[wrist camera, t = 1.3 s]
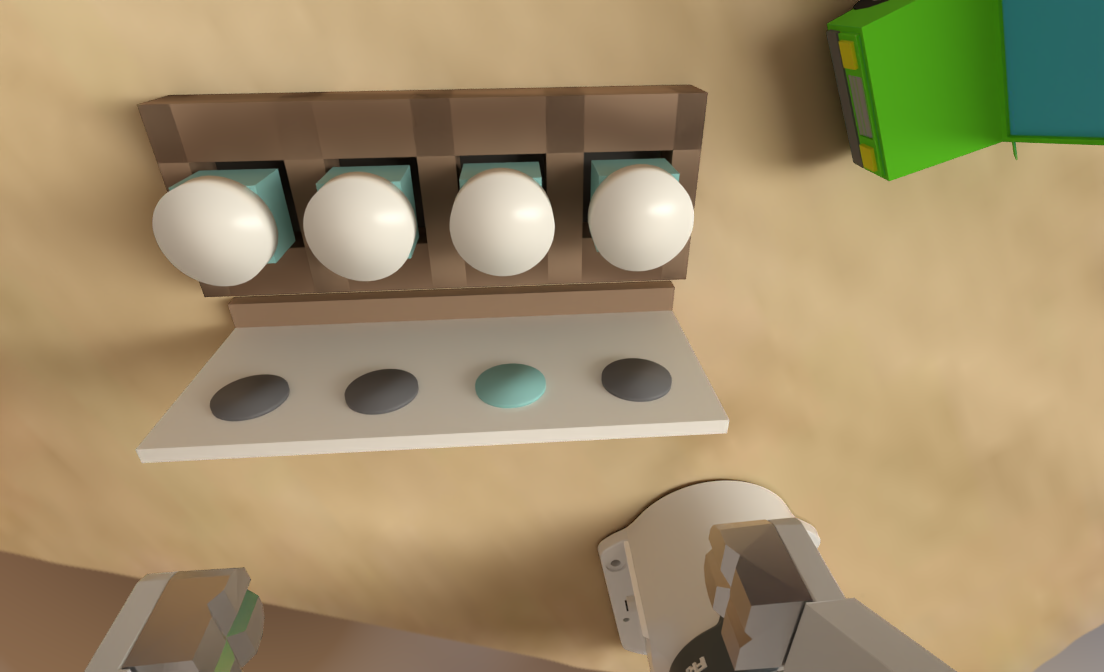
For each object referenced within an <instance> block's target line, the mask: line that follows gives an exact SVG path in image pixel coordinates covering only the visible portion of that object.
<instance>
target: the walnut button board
mask: <svg viewBox="0 0 1104 672" xmlns="http://www.w3.org/2000/svg"><path fill="white" fill-rule="evenodd" d="M707 95H708V93H707V92H705V91H703V90H701V89H699V88H697V87H695V86H693V85H656V86H605V87H555V88H505V89H455V90H404V91H354V92H304V93H254V94H203V95H168V96H165V97H161V98H158V99H155V100H151V101H148V102H144V103H141V104H137V106H138V109H139V112H140V115H141V118H142V120H143V123H144V126H145V129H146V132H147V135H148V138H149V140H150V143H151V146H152V149H153V152H154V155H155V157H156V160H157V163H158V166H159V169H160V172H161V175H162V177H163V180H164V183H165V186H166V189H167V192H169V187H171V186H173V185H174V184H176V183H178V182H180V181H182V180H183V179H185V178H187V177H189V176H190V175H192V174H194V173H196V172H198V171H203V170H241V169H278V172H279V176H280V180H281V184H282V188H283V192H284V196H285V200H286V204H287V208H288V212H289V216H290V220H291V224H292V228H293V232H294V236H295V240H296V241H295V242H294V243H293V244H292V245H291V247H290V248H289V249H288V250H287V251H286V252H285V253H284V255H283V256H282V257H281V258H280V259H279V260H278V262H277V263H267V264H266V265H265V266H264V267H263V269H262V270H261V271H260V272H259V273H258V274H257V275H256V276H255V277H253V278H252V279H251V280H249V281H247V282H245V283H242V284H239V285H235V286H215V285H210V284H206V283H203V282H200V281H199V283H200V286H201V288H202V291H203V294H204V297H221V296H248V295H275V294H302V293H329V292H356V291H382V290H409V289H436V288H463V287H490V286H517V285H544V284H570V283H597V282H624V281H651V280H678V279H686V274H687V265H688V257H689V248H690V240H691V235H690V237H689V239H688V241H687V243H686V245H685V246H684V248H683V249H682V250H681V251H680V252H679V253H678V254H677V255H676V256H675V257H674V258H673V259H672V260H670V261H669V262H667V263H666V264H664V265H662V266H660V267H657V268H655V269H651V270H647V271H628V270H624V269H621V268H618V267H616V266H614V265H612V264H611V263H609V262H608V261H607V260H606V259H605V258H604V257H603V256H602V255H601V254H600V252H597V251H596V248H595V245H594V242H593V239H592V236H591V233H590V229H589V224H588V209H589V204H590V197H591V160H620V159H658V158H665V159H666V160H667V161H668V162H669V163H670V164H671V165H672V166H673V167H674V168H675V169H676V170H677V171H678V172H679V174H680V175H679V183H680V184H681V185H682V186H683V188H684V189H685V190H686V191H687V193H688V195H689V197H690V199H691V202H692V205H693V209H694V206H695V197H696V189H697V180H698V172H699V163H700V155H701V146H702V138H703V129H704V121H705V112H706V104H707ZM506 162H539V166H540V172H541V177H542V188H543V189H544V191H545V192H546V194H547V196H548V198H549V200H550V203H551V207H552V212H553V217H554V224H555V230H554V237H553V241H552V244H551V246H550V248H549V250H548V252H547V254H546V255H545V257H544V258H543V259H542V260H541V261H540V262H539V263H538V264H537V265H535V266H534V267H532V268H531V269H529V270H527V271H525V272H523V273H520V274H517V275H512V276H495V275H490V274H486V273H483V272H481V271H479V270H477V269H475V268H473V267H472V266H471V265H469V264H468V263H467V262H466V261H465V260H464V259H463V258H462V257H461V256H460V255H459V253H458V252H457V250H456V248H455V246H454V244H453V242H452V238H451V234H450V216H451V212H452V208H453V204H454V201H455V198H456V196H457V194H458V192H459V190H460V183H459V179H460V175H461V171H462V168H463V164H468V163H506ZM393 165H410V171H411V179H412V186H413V194H414V201H415V209H416V216H417V224H418V231H419V239H418V241H417V244H416V247H415V249H414V252H413V255H412V257H411V259H407V260H406V262H405V263H404V264H403V265H402V267H401V268H399V269H398V270H397V271H396V272H395V273H393V274H392V275H390V276H388V277H385V278H383V279H379V280H375V281H357V280H352V279H348V278H345V277H342V276H340V275H338V274H336V273H334V272H332V271H331V270H329V269H328V268H327V267H325V266H324V265H323V264H322V263H321V262H320V261H319V260H318V259H317V258H316V257H315V255H314V254H313V252H312V251H311V249H310V248H309V245H308V243H307V241H306V238H305V234H304V228H303V220H304V213H305V210H306V207H307V205H308V203H309V201H310V200H311V198H312V197H313V196H314V195H315V194H316V193H317V188H316V183H317V182H318V181H319V180H320V179H321V178H322V177H323V176H324V175H325V174H326V173H327V172H328V171H329V170H330V169H331V168H332V167H355V166H393Z"/></svg>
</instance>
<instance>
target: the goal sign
mask: <svg viewBox="0 0 1104 672" xmlns="http://www.w3.org/2000/svg"><path fill="white" fill-rule="evenodd" d="M674 290H675V287H674V286H673V284H672V282H671V281H654V282H627V283H600V284H574V285H547V286H520V287H493V288H466V289H440V290H413V291H386V292H359V293H332V294H306V295H279V296H252V297H234V298H233V299H232V300H231V302H230V303H229V304H228V307H229V310H230V313H231V316H232V319H233V322H234V325H235V329H234V330H233V331H232V333H231V334H230V335H229V336H228V338H227V339H226V340H225V341H224V342H223V344H222V345H221V346H220V347H219V348H218V350H217V351H216V352H215V353H214V355H213V356H212V357H211V358H210V359H209V361H208V362H207V363H206V364H205V365H204V367H203V368H202V369H201V370H200V372H199V373H198V374H197V375H196V376H195V378H194V379H193V380H192V381H191V382H190V384H189V385H188V386H187V387H186V389H185V390H184V391H183V392H182V393H181V395H180V396H179V397H178V398H177V399H176V401H175V402H174V403H173V404H172V406H171V407H170V408H169V409H168V410H167V412H166V413H165V414H164V415H163V416H162V418H161V419H160V420H159V421H158V423H157V424H156V425H155V426H154V427H153V429H152V430H151V431H150V432H149V433H148V435H147V436H146V437H145V438H144V440H143V441H142V442H141V443H140V444H139V446H138V447H137V448H136V449H135V450H136V452H137V454H138V456H139V458H140V460H141V462H142V463H152V462H171V461H191V460H210V459H230V458H249V457H269V456H288V455H308V454H328V453H347V452H367V451H386V450H406V449H425V448H445V447H464V446H484V445H504V444H523V443H543V442H562V441H582V440H601V439H621V438H640V437H660V436H680V435H699V434H719V433H727V430H728V425H729V418H728V416H727V414H726V412H725V411H724V409H723V407H722V405H721V403H720V401H719V399H718V397H717V395H716V393H715V391H714V389H713V388H712V386H711V384H710V382H709V380H708V378H707V376H706V374H705V372H704V370H703V368H702V366H701V365H700V363H699V361H698V359H697V357H696V355H695V353H694V351H693V349H692V347H691V345H690V344H689V342H688V340H687V338H686V336H685V334H684V332H683V330H682V328H681V326H680V324H679V322H678V321H677V319H676V317H675V315H674V313H673V311H672V308H673V299H674Z"/></svg>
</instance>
